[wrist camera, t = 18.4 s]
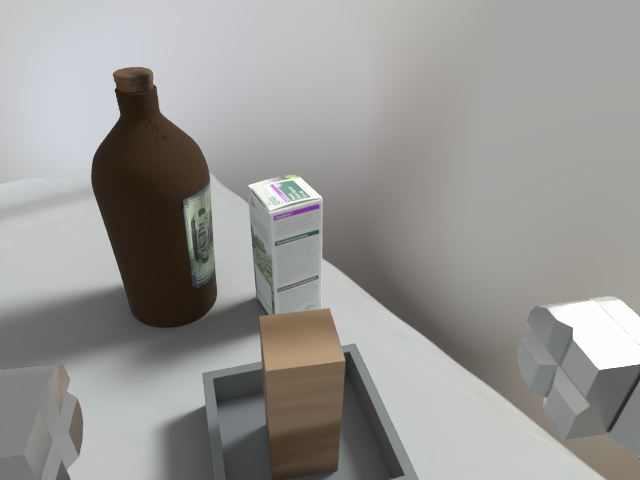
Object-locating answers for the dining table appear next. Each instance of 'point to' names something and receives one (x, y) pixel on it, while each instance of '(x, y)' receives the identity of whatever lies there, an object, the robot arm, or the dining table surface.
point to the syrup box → (286, 244)
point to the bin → (251, 434)
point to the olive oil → (156, 207)
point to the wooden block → (302, 392)
